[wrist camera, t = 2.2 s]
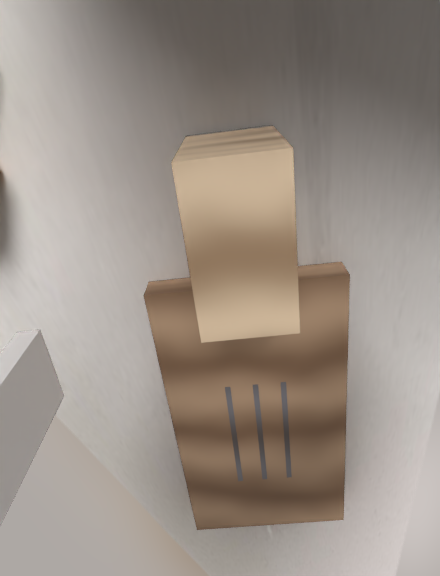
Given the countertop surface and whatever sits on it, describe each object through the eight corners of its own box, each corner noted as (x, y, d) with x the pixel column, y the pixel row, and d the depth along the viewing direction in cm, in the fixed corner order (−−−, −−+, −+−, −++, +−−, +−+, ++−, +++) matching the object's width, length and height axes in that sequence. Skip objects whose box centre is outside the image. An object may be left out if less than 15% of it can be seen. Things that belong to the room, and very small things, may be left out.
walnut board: (148, 281, 29) (143, 295, 27) (341, 261, 28) (349, 274, 26) (198, 509, 40) (197, 530, 38) (337, 499, 39) (343, 519, 37)
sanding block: (186, 135, 24) (171, 162, 17) (272, 125, 24) (292, 147, 17) (206, 274, 29) (201, 342, 21) (280, 267, 28) (299, 333, 21)
